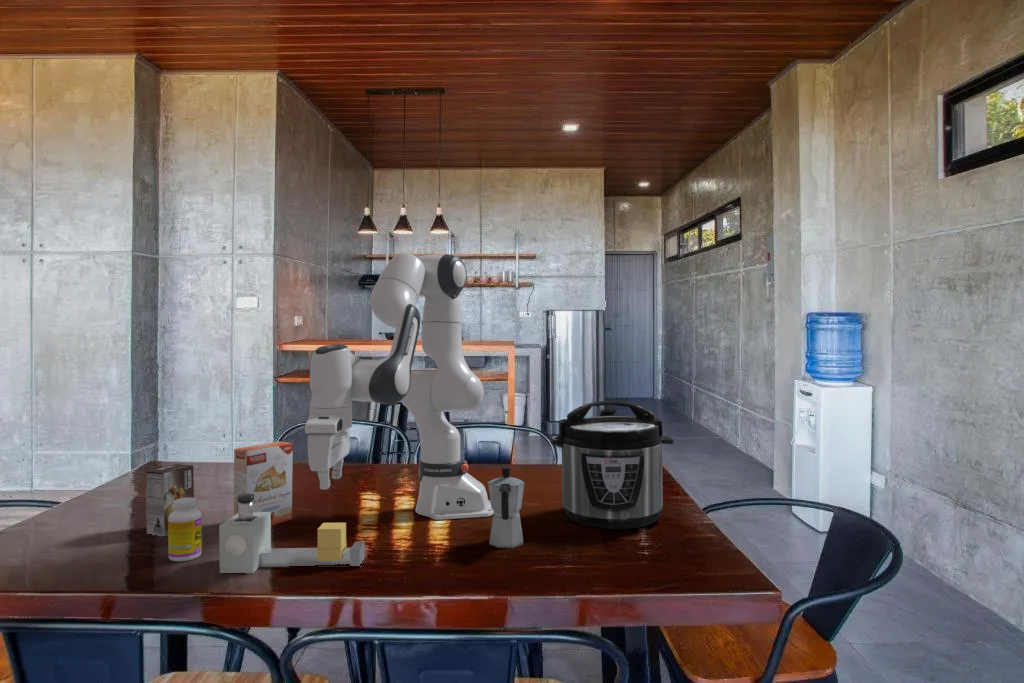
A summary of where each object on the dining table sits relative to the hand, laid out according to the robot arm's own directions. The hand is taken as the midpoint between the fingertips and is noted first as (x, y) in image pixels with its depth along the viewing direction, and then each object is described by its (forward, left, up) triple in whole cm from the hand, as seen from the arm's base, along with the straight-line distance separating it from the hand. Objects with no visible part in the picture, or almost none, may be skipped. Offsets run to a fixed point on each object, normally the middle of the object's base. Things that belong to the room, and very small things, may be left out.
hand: (331, 483), depth 135 cm
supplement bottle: (+34, -5, -18) cm, 39 cm away
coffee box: (+47, -24, -18) cm, 56 cm away
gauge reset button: (+18, 0, -10) cm, 21 cm away
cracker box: (+25, -28, -18) cm, 42 cm away
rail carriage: (0, 0, -16) cm, 16 cm away
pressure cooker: (-67, -32, -18) cm, 76 cm away
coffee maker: (-38, -12, -18) cm, 44 cm away
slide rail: (+5, 0, -18) cm, 18 cm away
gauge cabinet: (+18, 0, -18) cm, 25 cm away
